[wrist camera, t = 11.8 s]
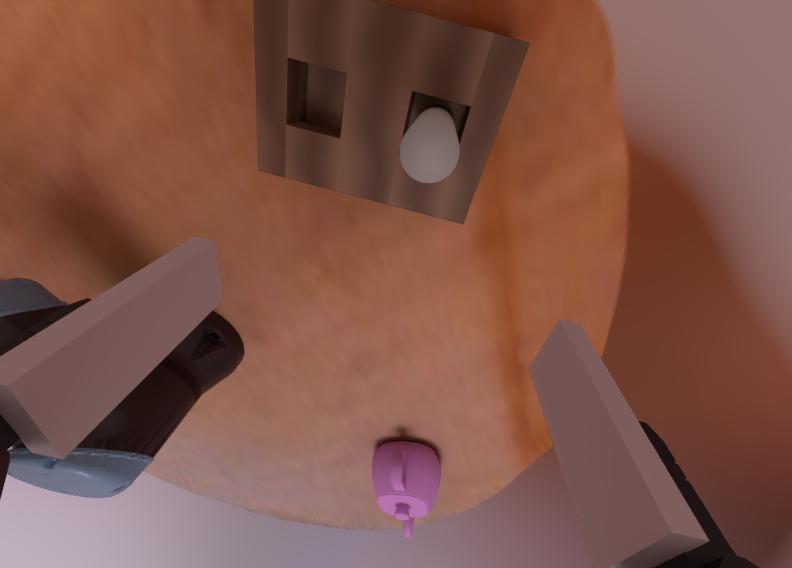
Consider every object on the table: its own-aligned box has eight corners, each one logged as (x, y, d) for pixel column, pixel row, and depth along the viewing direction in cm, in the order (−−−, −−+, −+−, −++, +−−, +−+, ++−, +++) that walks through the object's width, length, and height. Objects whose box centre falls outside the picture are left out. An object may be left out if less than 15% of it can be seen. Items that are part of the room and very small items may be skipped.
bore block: (285, 157, 34) (258, 170, 29) (288, -11, 27) (252, -33, 22) (460, 203, 35) (463, 224, 30) (514, 50, 27) (529, 42, 22)
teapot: (384, 479, 71) (375, 539, 61) (367, 426, 60) (353, 488, 51) (444, 483, 68) (444, 546, 59) (437, 428, 58) (435, 494, 48)
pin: (413, 139, 30) (393, 175, 19) (422, 100, 28) (407, 112, 17) (447, 148, 30) (448, 189, 19) (458, 109, 29) (468, 128, 17)
